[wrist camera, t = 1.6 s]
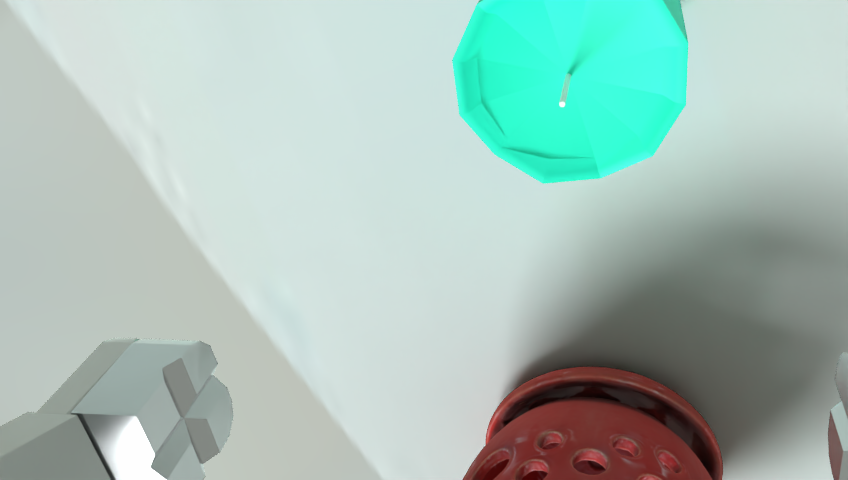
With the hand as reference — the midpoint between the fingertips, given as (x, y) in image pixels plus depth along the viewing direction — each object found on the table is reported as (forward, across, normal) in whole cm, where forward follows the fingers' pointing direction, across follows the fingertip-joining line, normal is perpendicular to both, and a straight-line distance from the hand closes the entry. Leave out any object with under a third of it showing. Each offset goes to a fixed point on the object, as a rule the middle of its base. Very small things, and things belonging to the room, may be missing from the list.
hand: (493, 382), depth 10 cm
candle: (+22, 0, 0) cm, 22 cm away
